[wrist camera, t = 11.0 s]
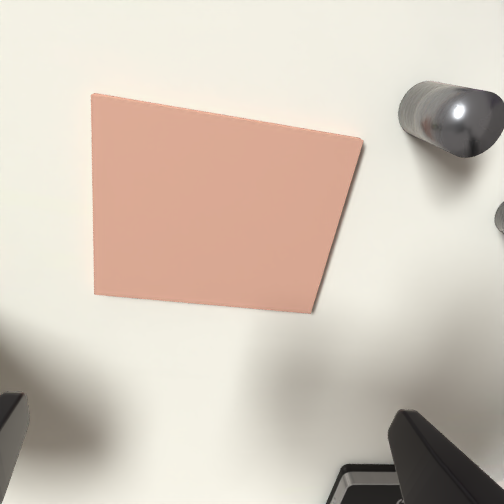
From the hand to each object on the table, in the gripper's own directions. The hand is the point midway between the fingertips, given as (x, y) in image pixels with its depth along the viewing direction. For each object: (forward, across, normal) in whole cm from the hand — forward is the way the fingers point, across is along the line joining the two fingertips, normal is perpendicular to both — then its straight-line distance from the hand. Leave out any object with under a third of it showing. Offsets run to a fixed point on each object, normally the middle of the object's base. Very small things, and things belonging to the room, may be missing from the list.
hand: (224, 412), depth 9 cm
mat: (+12, 0, 0) cm, 12 cm away
